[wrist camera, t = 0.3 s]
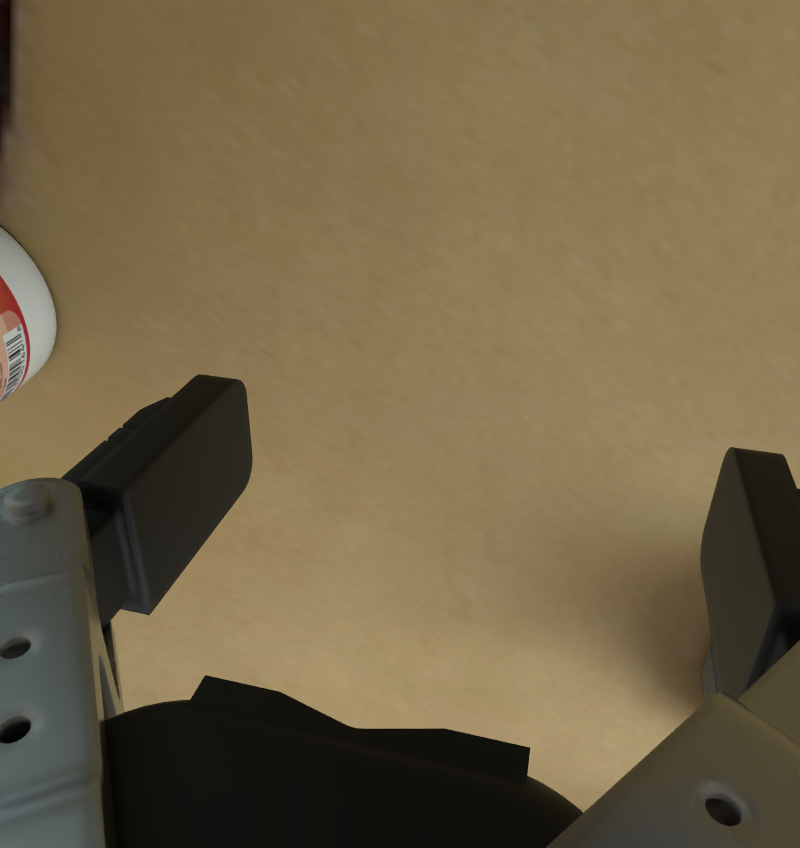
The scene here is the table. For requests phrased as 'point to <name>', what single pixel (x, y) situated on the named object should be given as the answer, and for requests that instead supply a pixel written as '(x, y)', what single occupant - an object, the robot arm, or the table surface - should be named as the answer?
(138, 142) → the table surface
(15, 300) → the fruit juice
